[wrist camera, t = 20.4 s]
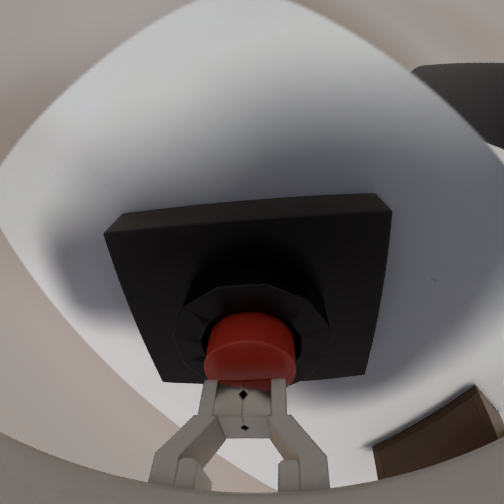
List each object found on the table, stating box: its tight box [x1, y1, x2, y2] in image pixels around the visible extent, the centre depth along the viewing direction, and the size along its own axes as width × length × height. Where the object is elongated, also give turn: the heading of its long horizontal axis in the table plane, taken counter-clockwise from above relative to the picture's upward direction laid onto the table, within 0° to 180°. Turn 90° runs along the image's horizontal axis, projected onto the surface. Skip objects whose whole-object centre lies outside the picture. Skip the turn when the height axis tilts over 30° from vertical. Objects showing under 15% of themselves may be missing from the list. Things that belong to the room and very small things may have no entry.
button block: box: [104, 193, 392, 385], centre depth 14 cm, size 12×10×4 cm
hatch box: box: [372, 386, 504, 480], centre depth 21 cm, size 15×13×9 cm
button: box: [204, 311, 297, 388], centre depth 12 cm, size 4×4×2 cm
